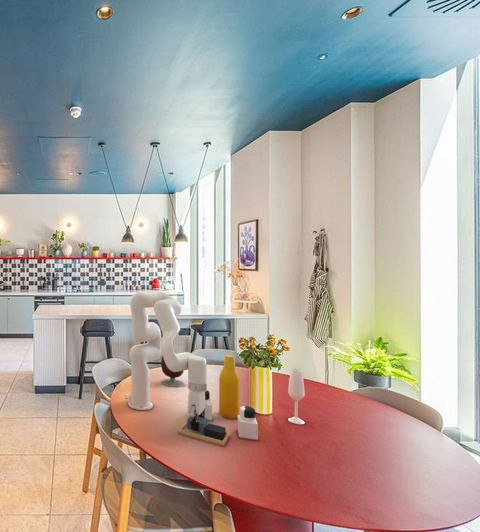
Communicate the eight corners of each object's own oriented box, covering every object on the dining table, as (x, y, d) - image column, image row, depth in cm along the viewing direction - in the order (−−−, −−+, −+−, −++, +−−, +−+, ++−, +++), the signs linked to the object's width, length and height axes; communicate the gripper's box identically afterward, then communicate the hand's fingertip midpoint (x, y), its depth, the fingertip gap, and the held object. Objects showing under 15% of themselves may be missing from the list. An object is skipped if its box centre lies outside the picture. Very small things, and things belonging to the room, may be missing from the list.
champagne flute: (307, 425, 158) (307, 372, 158) (291, 423, 159) (291, 371, 159) (301, 418, 164) (301, 368, 164) (285, 417, 166) (285, 367, 166)
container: (212, 421, 161) (212, 393, 161) (194, 419, 162) (194, 392, 162) (209, 414, 168) (209, 388, 168) (192, 413, 170) (192, 386, 170)
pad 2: (204, 437, 144) (204, 428, 144) (208, 432, 149) (208, 423, 149) (222, 442, 140) (222, 433, 140) (225, 437, 145) (225, 427, 145)
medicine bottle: (255, 433, 150) (255, 405, 150) (257, 441, 143) (258, 412, 143) (237, 430, 152) (237, 403, 152) (239, 438, 145) (239, 409, 145)
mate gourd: (169, 378, 223) (169, 347, 223) (188, 383, 212) (188, 351, 212) (155, 383, 212) (155, 351, 212) (174, 389, 202) (175, 355, 202)
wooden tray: (179, 434, 149) (179, 429, 149) (186, 425, 156) (186, 421, 156) (223, 447, 138) (223, 441, 138) (229, 437, 146) (229, 432, 146)
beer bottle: (226, 420, 162) (227, 358, 162) (215, 412, 171) (215, 353, 171) (243, 418, 164) (244, 357, 164) (231, 410, 173) (231, 352, 173)
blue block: (187, 428, 148) (187, 419, 148) (191, 423, 153) (191, 414, 153) (203, 433, 144) (203, 423, 144) (207, 428, 149) (207, 418, 149)
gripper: (194, 378, 158) (194, 418, 158) (181, 389, 144) (181, 432, 144) (211, 382, 154) (211, 422, 154) (200, 393, 140) (200, 437, 140)
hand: (197, 427), depth 149 cm, fingers closed on blue block, 6 cm apart
